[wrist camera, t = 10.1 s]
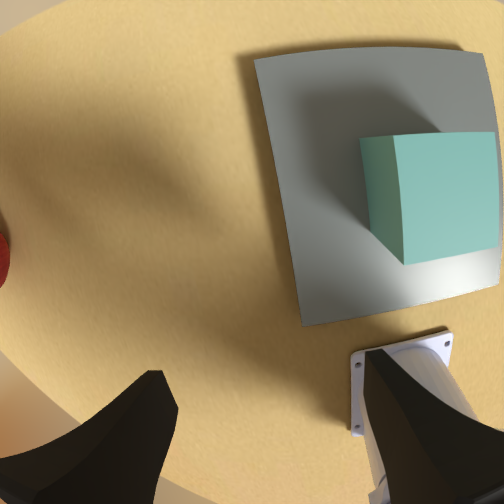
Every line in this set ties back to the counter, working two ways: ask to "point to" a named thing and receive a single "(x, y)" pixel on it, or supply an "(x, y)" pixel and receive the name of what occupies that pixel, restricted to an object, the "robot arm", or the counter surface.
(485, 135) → the cube
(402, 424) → the robot arm
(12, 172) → the counter surface
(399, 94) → the cutting board
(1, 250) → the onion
